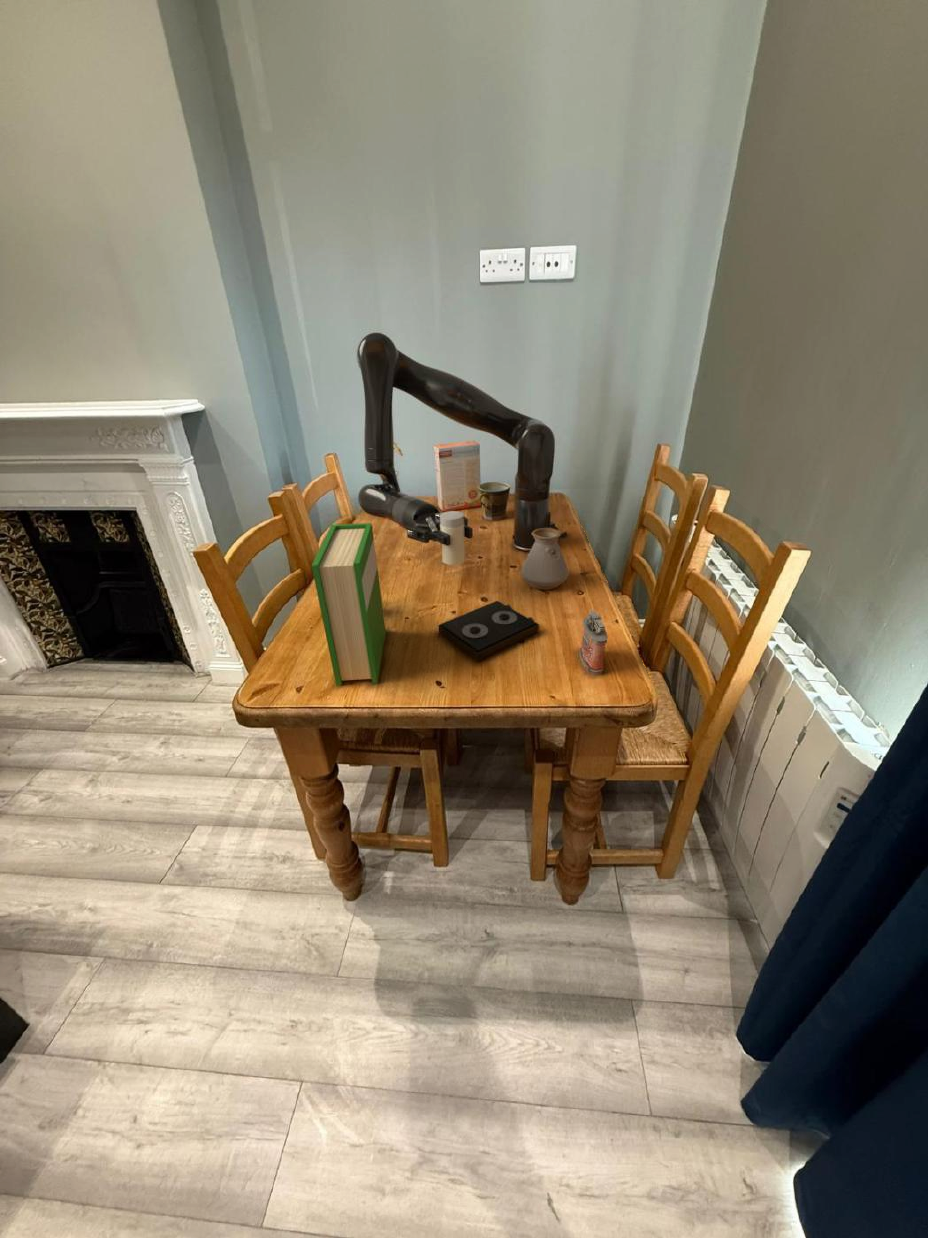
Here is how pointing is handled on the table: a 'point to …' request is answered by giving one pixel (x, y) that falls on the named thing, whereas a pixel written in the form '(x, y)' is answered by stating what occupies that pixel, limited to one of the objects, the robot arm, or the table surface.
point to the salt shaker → (453, 537)
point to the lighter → (593, 643)
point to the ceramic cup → (494, 499)
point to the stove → (488, 630)
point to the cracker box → (457, 475)
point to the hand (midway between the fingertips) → (460, 537)
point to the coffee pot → (545, 561)
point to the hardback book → (351, 601)
